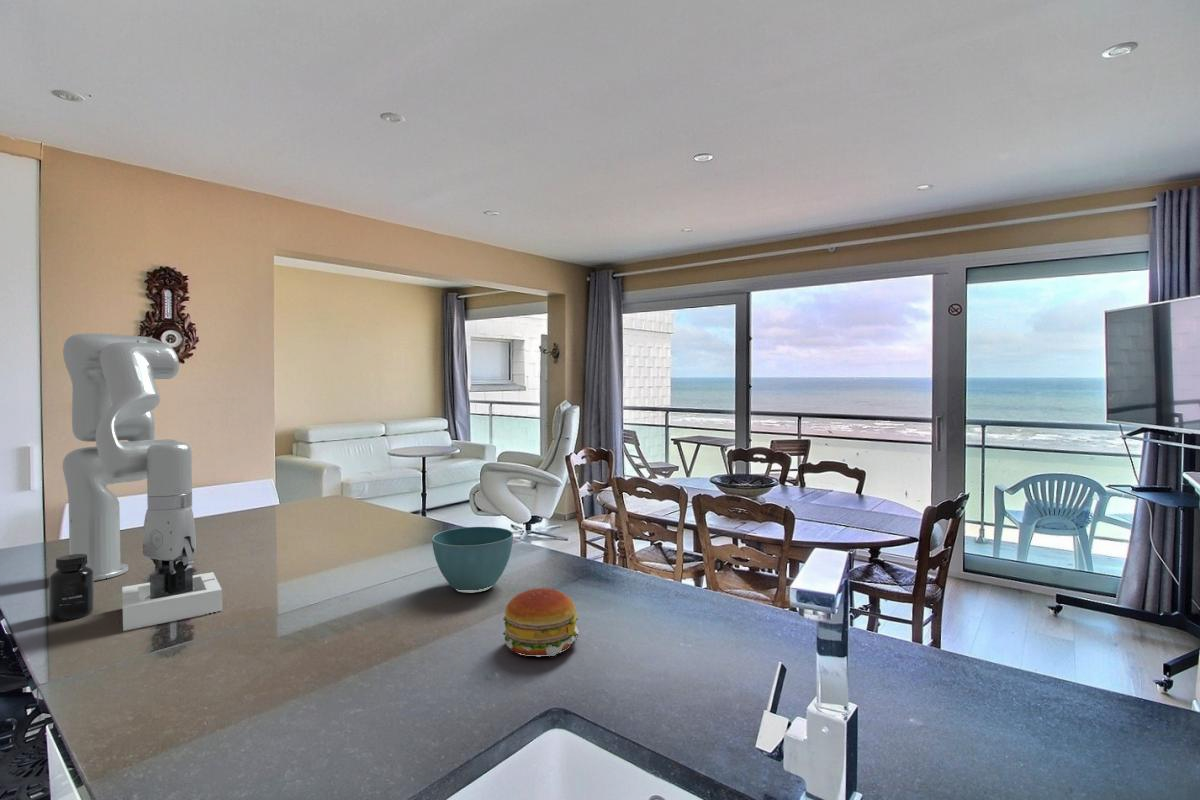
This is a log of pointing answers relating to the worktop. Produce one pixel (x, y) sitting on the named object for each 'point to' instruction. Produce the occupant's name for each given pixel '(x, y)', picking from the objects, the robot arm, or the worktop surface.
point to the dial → (161, 584)
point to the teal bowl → (472, 555)
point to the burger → (540, 622)
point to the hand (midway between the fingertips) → (171, 589)
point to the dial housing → (170, 603)
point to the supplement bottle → (71, 588)
